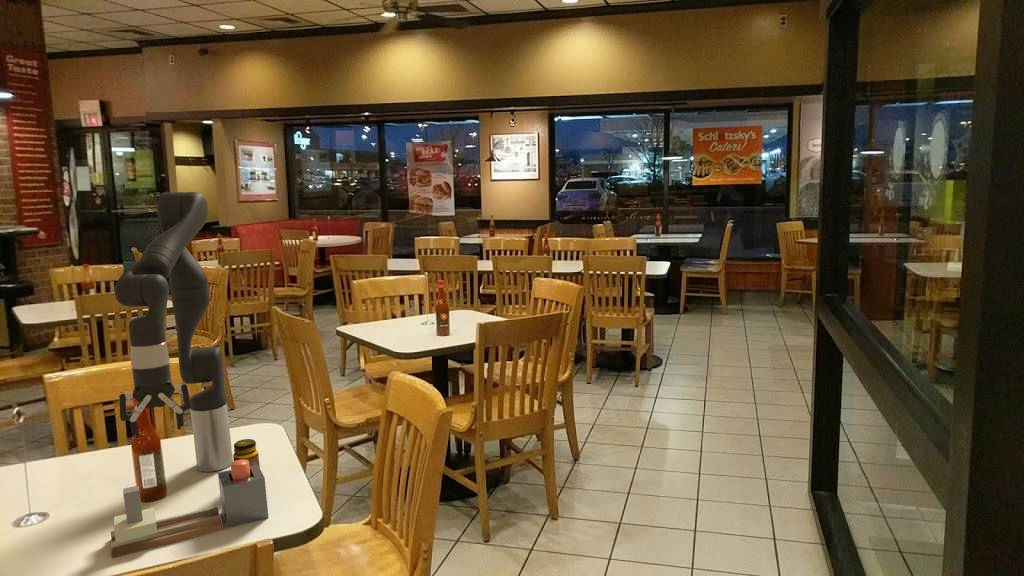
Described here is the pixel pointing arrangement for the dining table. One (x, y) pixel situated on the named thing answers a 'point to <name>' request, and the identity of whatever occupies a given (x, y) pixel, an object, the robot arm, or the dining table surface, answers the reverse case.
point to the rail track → (172, 531)
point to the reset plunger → (240, 470)
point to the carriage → (134, 518)
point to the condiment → (246, 451)
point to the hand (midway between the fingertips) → (158, 432)
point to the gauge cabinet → (243, 497)
